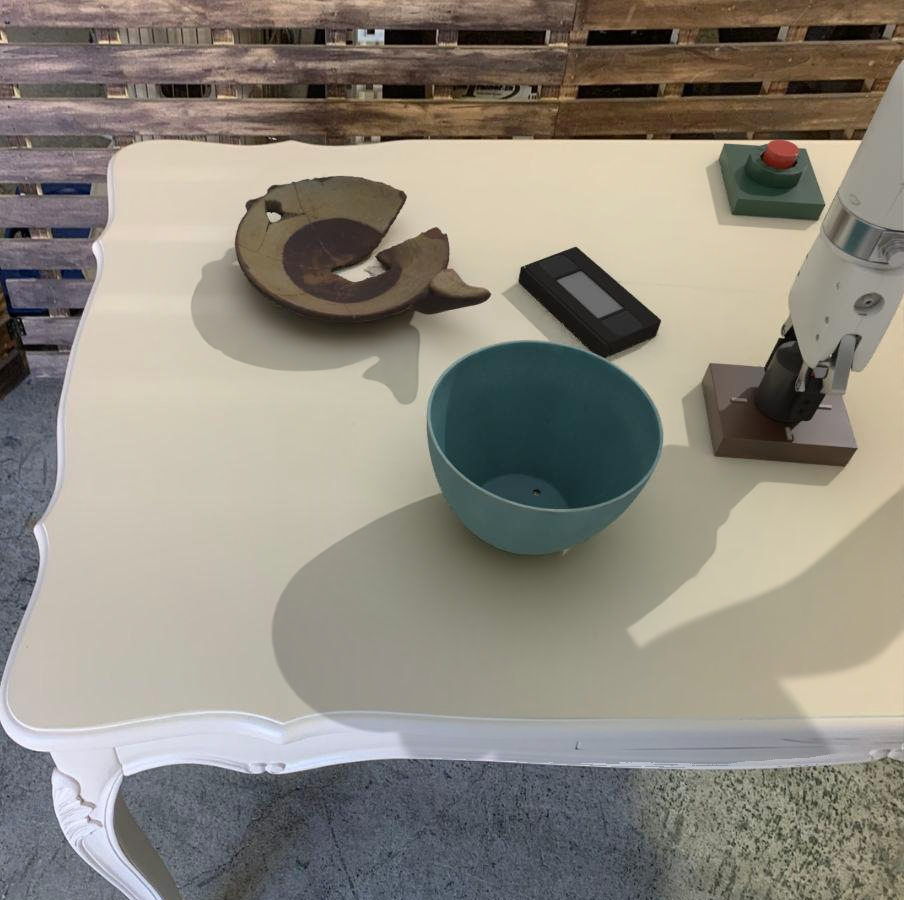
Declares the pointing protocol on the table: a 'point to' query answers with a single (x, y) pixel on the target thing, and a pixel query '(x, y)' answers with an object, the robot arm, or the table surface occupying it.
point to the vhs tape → (589, 302)
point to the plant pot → (540, 443)
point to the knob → (781, 378)
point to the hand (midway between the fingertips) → (786, 393)
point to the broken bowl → (344, 253)
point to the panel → (771, 422)
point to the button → (780, 154)
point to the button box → (769, 185)
